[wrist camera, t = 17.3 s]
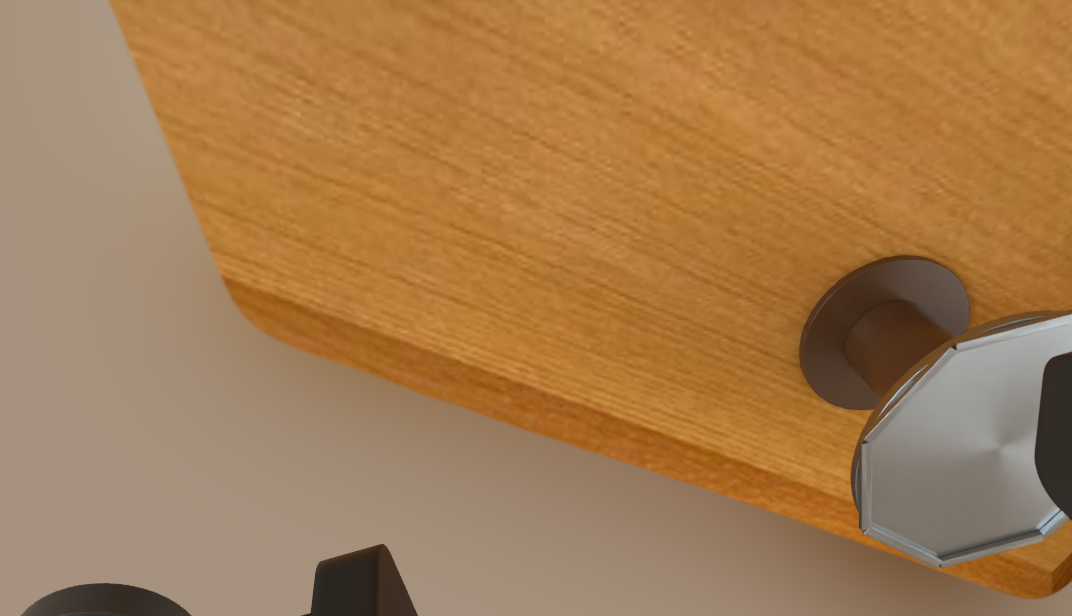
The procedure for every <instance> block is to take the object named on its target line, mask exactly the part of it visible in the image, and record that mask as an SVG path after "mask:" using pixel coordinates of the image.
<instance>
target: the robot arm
mask: <svg viewBox="0 0 1072 616" xmlns="http://www.w3.org/2000/svg"><path fill="white" fill-rule="evenodd" d="M1034 459H1035V466H1036V471H1037V474H1038V477H1039V479H1040V481H1041V484H1042V486H1043V487H1044V489H1045V491H1046V493H1047V494H1048V496H1049V497H1050V499H1051V500H1052V501H1053V502H1054V504H1055V505H1056V506H1057V507H1058V508H1059V509H1060V510H1061V511H1062V512H1063V513H1064V514H1065V515H1067V516H1068V517H1069V518H1070V519H1071V520H1072V351H1071V352H1068V353H1064V354H1061V355H1057V356H1054V357H1052V358H1051V359H1050V360H1049V361H1048V362H1047V363H1046V365H1045V368H1044V372H1043V379H1042V388H1041V398H1040V407H1039V416H1038V425H1037V434H1036V443H1035V453H1034ZM303 616H418V615H417V613H416V610H415V608H414V606H413V604H412V601H411V599H410V597H409V594H408V592H407V590H406V587H405V585H404V583H403V581H402V579H401V576H400V574H399V572H398V569H397V567H396V565H395V562H394V560H393V558H392V556H391V554H390V552H389V550H388V548H387V547H386V546H385V545H384V544H380V545H376V546H373V547H369V548H366V549H363V550H359V551H355V552H352V553H348V554H344V555H341V556H337V557H334V558H330V559H327V560H324V561H321V562H319V564H318V566H317V569H316V573H315V581H314V589H313V598H312V607H311V613H310V614H306V615H303Z"/></svg>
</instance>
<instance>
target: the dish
mask: <svg viewBox="0 0 1072 616" xmlns="http://www.w3.org/2000/svg"><path fill="white" fill-rule="evenodd" d="M968 323H969V302H968V297H967V294H966V291H965V289H964V287H963V285H962V283H961V282H960V280H959V279H958V278H957V277H956V276H955V275H954V274H953V273H952V272H951V271H950V270H948V269H947V268H946V267H944V266H943V265H941V264H939V263H937V262H935V261H933V260H930V259H927V258H923V257H918V256H895V257H890V258H885V259H881V260H878V261H875V262H872V263H869V264H867V265H865V266H862V267H860V268H859V269H857V270H855V271H853V272H851V273H850V274H848V275H847V276H845V277H844V278H843V279H841V280H840V281H839V282H837V283H836V284H835V285H834V286H833V287H832V288H831V289H830V290H829V291H828V292H827V293H826V294H825V295H824V296H823V297H822V298H821V300H820V301H819V302H818V304H817V305H816V306H815V308H814V309H813V311H812V313H811V314H810V316H809V318H808V320H807V322H806V324H805V327H804V330H803V333H802V336H801V341H800V351H799V357H800V365H801V369H802V372H803V375H804V377H805V379H806V381H807V382H808V384H809V385H810V386H811V388H812V389H813V390H814V391H815V392H816V393H817V394H818V395H819V396H820V397H821V398H822V399H824V400H826V401H827V402H829V403H831V404H833V405H835V406H838V407H842V408H845V409H852V410H870V409H874V411H873V412H872V414H871V415H870V417H869V419H868V421H867V423H866V425H865V426H864V428H863V430H862V432H861V435H860V437H859V440H858V443H857V445H856V448H855V452H854V457H853V461H852V468H851V488H852V495H853V499H854V502H855V506H856V508H857V510H858V512H859V528H860V529H861V531H862V532H863V534H865V535H867V536H869V537H871V538H873V539H875V540H877V541H880V542H882V543H884V544H886V545H888V546H890V547H892V548H894V549H897V550H899V551H901V552H903V553H905V554H907V555H909V556H911V557H913V558H916V559H918V560H920V561H922V562H924V563H926V564H928V565H930V566H933V567H935V568H937V567H938V566H940V568H944V567H948V566H952V565H955V564H959V563H963V562H967V561H970V560H974V559H978V558H981V557H985V556H989V555H992V554H996V553H1000V552H1004V551H1007V550H1011V549H1015V548H1018V547H1022V546H1026V545H1030V544H1033V543H1037V542H1041V541H1043V536H1044V537H1046V538H1049V537H1050V536H1051V535H1052V534H1053V533H1054V532H1055V531H1056V530H1057V529H1059V528H1060V527H1061V526H1062V525H1063V524H1064V523H1065V522H1066V521H1067V520H1069V519H1070V518H1069V517H1068V516H1067V515H1065V514H1064V513H1063V512H1062V511H1061V510H1060V509H1059V508H1058V507H1057V506H1056V505H1055V504H1054V502H1053V501H1052V500H1051V499H1050V497H1049V496H1048V494H1047V493H1046V491H1045V489H1044V487H1043V486H1042V484H1041V481H1040V479H1039V477H1038V474H1037V471H1036V466H1035V459H1034V453H1035V443H1036V434H1037V425H1038V416H1039V407H1040V398H1041V388H1042V379H1043V372H1044V368H1045V365H1046V363H1047V362H1048V361H1049V360H1050V359H1051V358H1052V357H1054V356H1057V355H1061V354H1064V353H1068V352H1071V351H1072V310H1068V311H1034V312H1025V313H1020V314H1015V315H1010V316H1006V317H1002V318H999V319H996V320H993V321H990V322H987V323H984V324H982V325H979V326H977V327H975V328H972V329H970V330H968V331H967V328H968Z"/></svg>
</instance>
